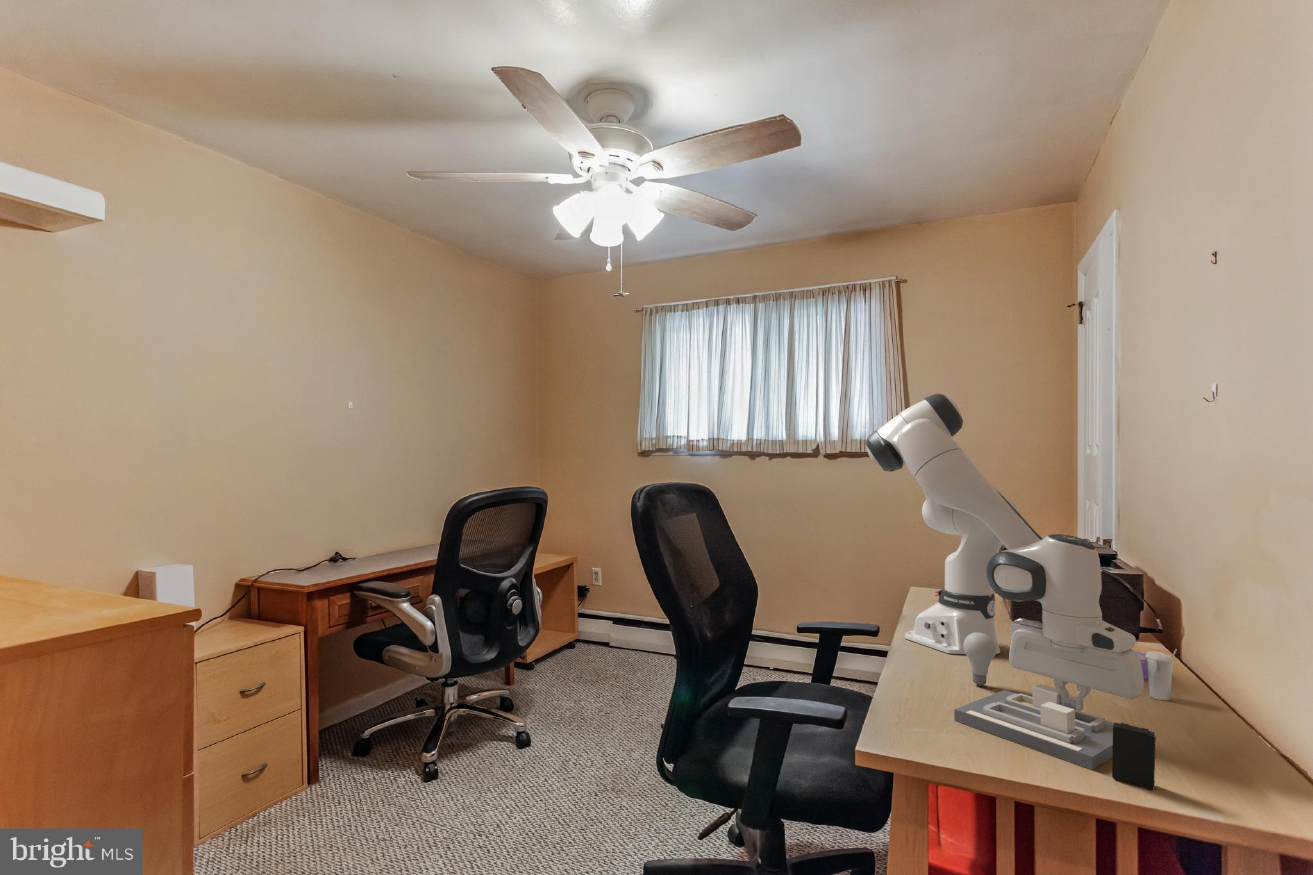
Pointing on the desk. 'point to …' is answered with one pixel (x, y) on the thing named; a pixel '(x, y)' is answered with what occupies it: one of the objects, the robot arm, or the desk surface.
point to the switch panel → (1040, 728)
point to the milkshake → (1159, 674)
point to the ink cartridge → (1133, 755)
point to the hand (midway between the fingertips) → (1072, 707)
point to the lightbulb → (979, 655)
